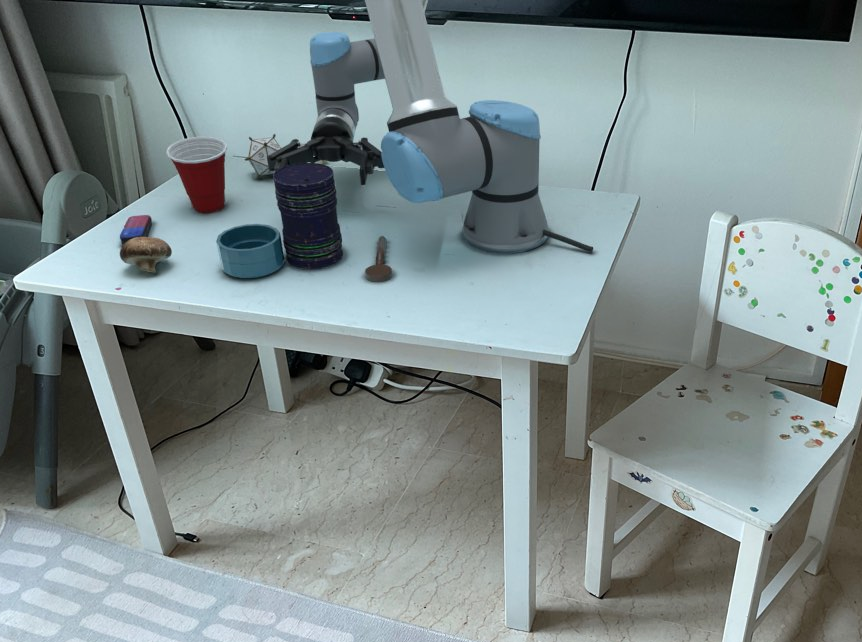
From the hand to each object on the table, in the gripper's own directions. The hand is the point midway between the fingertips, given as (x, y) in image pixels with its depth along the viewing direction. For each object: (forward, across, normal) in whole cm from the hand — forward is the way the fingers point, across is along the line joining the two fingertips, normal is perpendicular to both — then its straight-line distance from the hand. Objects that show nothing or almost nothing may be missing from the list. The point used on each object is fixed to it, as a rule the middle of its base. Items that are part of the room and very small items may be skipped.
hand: (321, 178), depth 150 cm
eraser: (-8, +35, -13) cm, 38 cm away
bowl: (+7, +12, -12) cm, 19 cm away
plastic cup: (-19, +25, -13) cm, 34 cm away
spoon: (+7, -9, -12) cm, 17 cm away
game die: (-35, +16, -13) cm, 40 cm away
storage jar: (+4, +2, -13) cm, 13 cm away
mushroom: (+6, +30, -13) cm, 33 cm away
